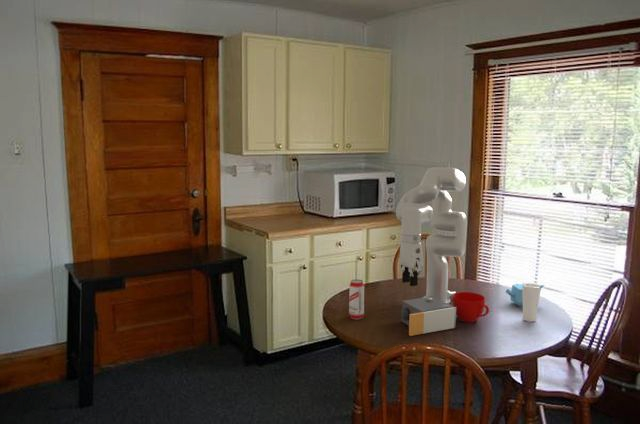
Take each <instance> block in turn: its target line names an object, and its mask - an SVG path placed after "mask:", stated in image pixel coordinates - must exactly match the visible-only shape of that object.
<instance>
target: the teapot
mask: <svg viewBox="0 0 640 424" xmlns="http://www.w3.org/2000/svg"><path fill="white" fill-rule="evenodd" d="M523 284H526V282H523V283H520V284H519V283H515V284H512V285H511V290H510V289H508V288H507V289H506V290H505V293H506V294H508V296H510V301H511V302H512V303H513V304H514V305H517V306H518V308H521V309H523V297H522V293H523ZM539 286H540V292H541V290H542V288H543V287H544V286H545V284H541V285H539Z"/></svg>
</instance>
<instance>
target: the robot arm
mask: <svg viewBox="0 0 640 424" xmlns="http://www.w3.org/2000/svg"><path fill="white" fill-rule="evenodd" d="M466 180H467V179H466V176H465V174H464V173H463V171H460V170H459V169H458V168H455V167H444V166H441V167H440V166H433V167H429V168H428V169H427V170H426V171H425V173H424V175H423V178H422V179H421V182H420V184H419V185H418V186H417V187H414V188H413V189H411V190H408V191H407V192H406V193H404V194H403V195H402V196H401V198H400V200H399V202H398V204H397V206H396V209H395V216H396V218H397V220H398V221H400V222H401V231H400V232H401V236H400V247H399V260H398V262H399V265H400V268H401V273H402V274H401V275H402V277H401V281H402V283H404V284H405V283H409V286H410V287H417V286H418V280H419V279H418V277H419V276H420V275H419V274H421V273H422V271H423V269H422V268H423V266H424V255H423V251H424V250H423V246H422V224H427V223H429V222H430V221H431V222H430V224H431V228H432V229H433V230H434V231H437V232H438V231H439V232H446V233H454V234H455V235H452V234H442V233H433V234H430V235H428V236H427V238H426V240H425V250H426V260H427V261H426V262H427V263H426V291H425V292H426V294H425V295H424V296H423V297H422V298H424V297H431V296H433V297H435V298H437V299H439V300H441V301H443V302H446V303H448V304H450V303H451V297H453V295H454V294H455V293H457V292H456V291H450V290H449V289H448V286H449V262H448V261H447V259H446V257H453V258H461V257H462V256H464V255H465V252H466V244H467V243H466V242H467V234H468V233H467V231H468V217H467V215H466V214H465V212H463V211H455V210H452V204H453V199H452V197H451V195H450V194H449V192H462V191H463V190H464V189H465V188H466V185H467V184H466V183H467V181H466ZM429 202H432V207H431V206H430V205H429V204H426V203H429Z"/></svg>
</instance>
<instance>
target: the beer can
mask: <svg viewBox="0 0 640 424" xmlns="http://www.w3.org/2000/svg"><path fill="white" fill-rule="evenodd" d="M348 293H349V298H348V299H349V301H348V315H349V318H350V319H352V320H356V321H357V320H358V321H359V320H362V319H363V318H364V316H365V283H364V280H362V279H358V278H357V279H352V280H350V282H349V292H348Z"/></svg>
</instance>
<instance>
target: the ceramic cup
mask: <svg viewBox="0 0 640 424" xmlns="http://www.w3.org/2000/svg"><path fill="white" fill-rule="evenodd" d="M485 302H486V297H485V296H484V295H483V294H479V293H476V292H469V291H460V292H456V293H455V294H454V295H453V296H452V306H453V307H456V317H458V319H459V320H460V321H462V322H464V323H474V322H476V321H477V320H478V319H479V318H480V317H485V316H487V315H488V314H489V312H490V308H489V306H488V305H487V304H485ZM484 308H485V313H484V314H483V311H484Z"/></svg>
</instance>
